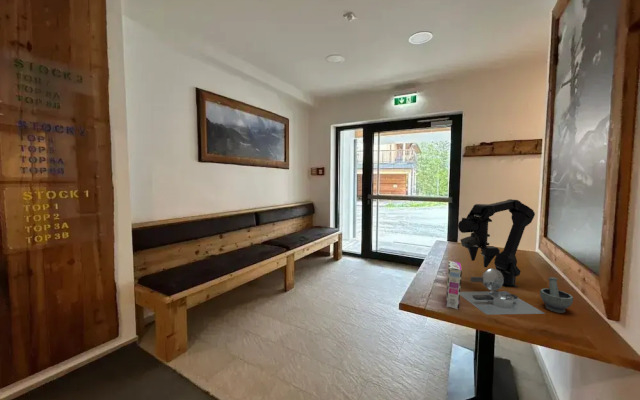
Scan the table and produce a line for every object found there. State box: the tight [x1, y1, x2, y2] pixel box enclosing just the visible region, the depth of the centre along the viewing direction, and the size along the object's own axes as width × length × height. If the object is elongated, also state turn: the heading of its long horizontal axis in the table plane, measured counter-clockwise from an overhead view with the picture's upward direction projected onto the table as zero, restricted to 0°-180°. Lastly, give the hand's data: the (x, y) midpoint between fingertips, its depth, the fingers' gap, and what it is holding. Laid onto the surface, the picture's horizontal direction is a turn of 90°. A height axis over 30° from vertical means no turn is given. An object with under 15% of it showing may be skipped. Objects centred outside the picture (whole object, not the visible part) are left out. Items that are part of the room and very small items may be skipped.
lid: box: [470, 267, 504, 291], centre depth 115 cm, size 14×9×2 cm
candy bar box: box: [445, 260, 463, 310], centre depth 110 cm, size 11×5×16 cm, turn 155°
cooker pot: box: [473, 290, 519, 308], centre depth 111 cm, size 18×9×3 cm, turn 94°
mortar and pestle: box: [539, 276, 574, 314], centre depth 107 cm, size 11×9×12 cm
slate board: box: [460, 290, 546, 316], centre depth 112 cm, size 24×20×1 cm
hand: (479, 263), depth 125 cm, fingers open, 9 cm apart
